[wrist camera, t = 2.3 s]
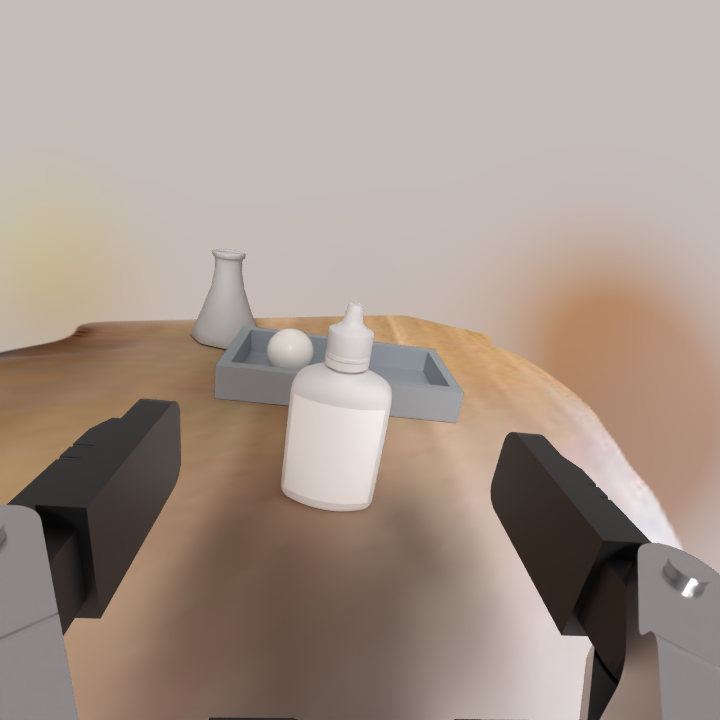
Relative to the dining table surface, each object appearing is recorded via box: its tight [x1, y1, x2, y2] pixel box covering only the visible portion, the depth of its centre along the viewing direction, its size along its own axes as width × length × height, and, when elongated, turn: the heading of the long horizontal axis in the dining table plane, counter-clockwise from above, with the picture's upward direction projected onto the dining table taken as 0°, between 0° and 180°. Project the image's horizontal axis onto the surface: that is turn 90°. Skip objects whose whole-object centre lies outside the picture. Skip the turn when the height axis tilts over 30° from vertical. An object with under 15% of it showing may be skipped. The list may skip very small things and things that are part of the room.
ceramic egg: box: [267, 328, 314, 370], centre depth 38 cm, size 4×4×4 cm
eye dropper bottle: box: [281, 303, 392, 511], centre depth 23 cm, size 4×6×12 cm
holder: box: [215, 326, 464, 423], centre depth 39 cm, size 21×11×3 cm, turn 93°
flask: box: [191, 249, 256, 349], centre depth 45 cm, size 7×7×10 cm
